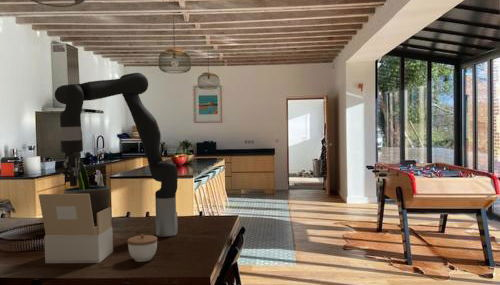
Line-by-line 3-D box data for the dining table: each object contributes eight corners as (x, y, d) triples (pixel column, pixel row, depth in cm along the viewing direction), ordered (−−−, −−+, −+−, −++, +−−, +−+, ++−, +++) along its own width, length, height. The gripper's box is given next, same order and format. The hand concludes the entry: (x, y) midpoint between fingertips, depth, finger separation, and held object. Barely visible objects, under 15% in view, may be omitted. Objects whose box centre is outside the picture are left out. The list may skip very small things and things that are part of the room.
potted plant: (79, 220, 227) (77, 146, 226) (117, 221, 224) (115, 146, 223) (56, 230, 207) (54, 148, 205) (98, 230, 204) (95, 147, 202)
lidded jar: (133, 255, 162) (132, 230, 162) (160, 254, 162) (160, 230, 162) (124, 264, 152) (123, 238, 151) (153, 263, 151) (152, 237, 151)
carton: (113, 251, 168) (112, 206, 167) (99, 262, 153) (97, 213, 153) (64, 251, 169) (62, 206, 168) (45, 263, 154) (43, 214, 154)
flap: (89, 193, 148) (88, 194, 148) (95, 234, 153) (94, 235, 152) (39, 194, 149) (38, 195, 148) (46, 234, 154) (45, 235, 153)
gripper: (73, 139, 148) (76, 188, 149) (88, 138, 161) (91, 183, 162) (52, 140, 148) (55, 189, 149) (69, 138, 161) (71, 183, 162)
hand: (73, 186), depth 155 cm, fingers closed
